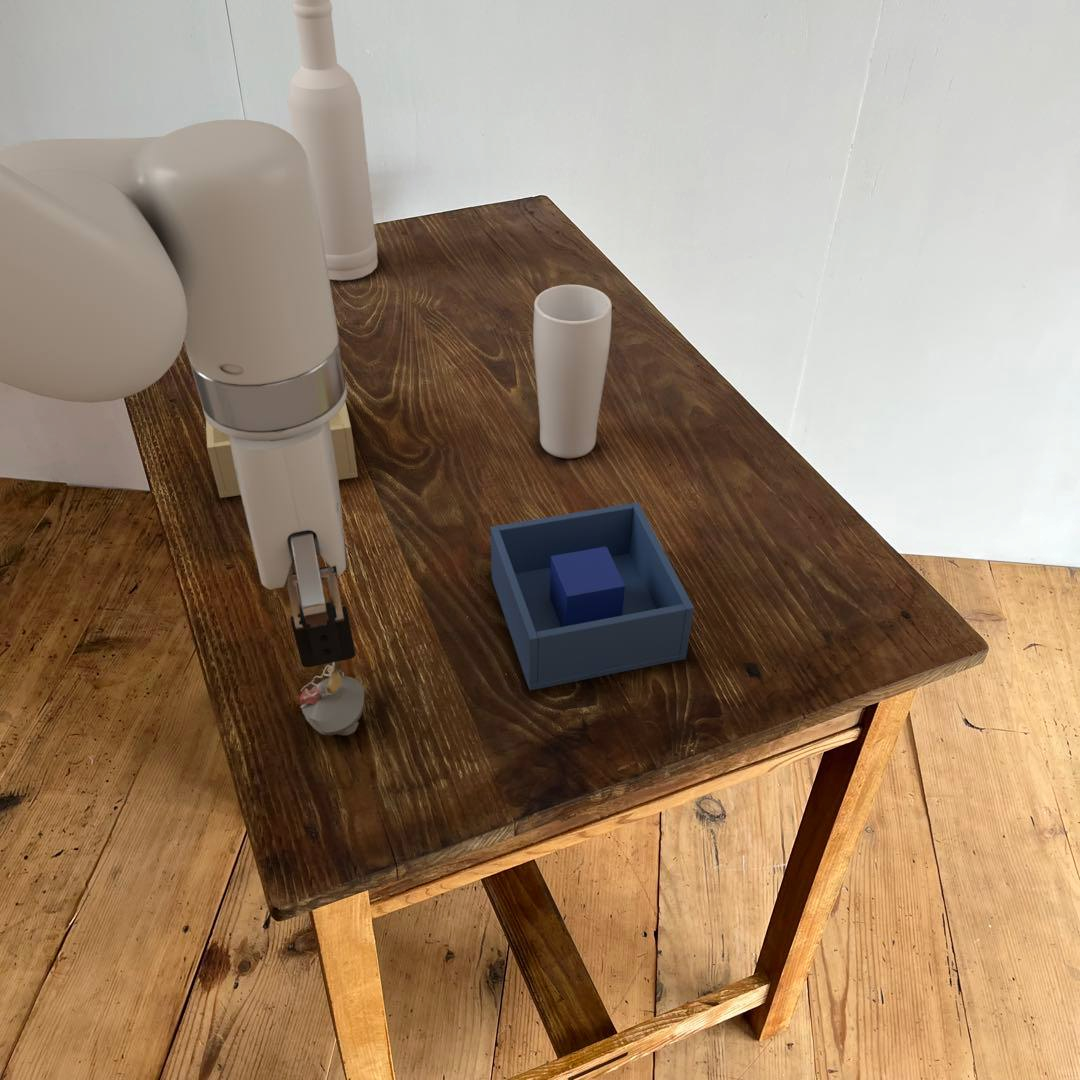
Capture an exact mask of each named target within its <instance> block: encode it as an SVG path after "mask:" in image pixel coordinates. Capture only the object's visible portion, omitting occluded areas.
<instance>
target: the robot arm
mask: <svg viewBox="0 0 1080 1080" xmlns="http://www.w3.org/2000/svg"><path fill="white" fill-rule="evenodd" d="M340 344H341V343H340V339H339V331H338V324H337V318H336V313H335V306H334V300H333V293H332V286H331V280H330V279H329V274H328V268H327V262H326V256H325V249H324V243H323V237H322V230H321V224H320V218H319V211H318V205H317V198H316V192H315V186H314V180H313V175H312V170H311V166H310V162H309V159H308V157H307V154H306V152H305V150H304V149H303V147H302V145H301V144H300V143H299V142H298V141H297V140H296V139H295V138H294V137H293V134H291V133H290V132H289V131H286V130H285V129H283V128H282V127H279V126H277V125H274V124H272V123H268V122H264V121H258V120H250V119H217V120H209V121H204V122H200V123H194V124H191V125H187V126H185V127H181V128H179V129H176V130H174V131H171V132H168V133H167V134H165V135H161V136H147V137H146V136H145V137H126V138H125V137H121V138H119V137H118V138H53V139H52V138H51V139H37V140H31V141H22V142H19V143H15V144H12V145H7V146H5V147H3V148H0V383H2V384H5V385H8V386H11V387H13V388H16V389H19V390H22V391H25V392H28V393H31V394H34V395H38V396H42V397H45V398H50V399H54V400H55V399H56V400H59V401H60V400H61V401H65V402H73V403H86V404H87V403H88V404H89V403H91V404H92V403H93V404H94V403H103V402H112V401H117V400H120V399H125V398H128V397H132V396H133V395H136V394H138V393H140V392H143V391H144V390H147V389H148V388H149V387H150V386H152V385H153V384H155V383H156V382H157V381H159V380H160V379H161V378H162V377H163V376H164V375H165V374H166V373H167V372H168V371H169V369H170V368H171V367H172V366H173V365H174V363H175V361H176V359H177V358H178V356H179V354H180V352H181V350H182V348H183V345H184V346H185V350H186V354H187V357H188V361H189V365H190V369H191V372H192V375H193V379H194V383H195V386H196V387H195V388H196V391H197V394H198V397H199V402H200V404H201V407H202V411H203V415H204V418H205V420H206V419H207V421H208V422H209V423H210V424H211V426H212V427H214V428H215V429H217V430H218V431H220V432H221V433H224V434H226V435H228V436H229V439H230V445H231V451H232V456H233V461H234V466H235V471H236V476H237V480H238V485H239V489H240V493H241V495H240V497H241V501H242V506H243V510H244V513H245V518H246V522H247V527H248V531H249V535H250V540H251V543H252V547H253V552H254V557H255V561H256V565H257V570H258V574H259V580H260V583H261V585H262V586H263V587H265V588H266V589H267V590H268V591H272V590H274V589H281V588H284V587H285V585H287V591H288V597H289V601H290V602H289V603H290V606H291V607H290V608H291V612H292V616H290V624H291V627H292V631H293V635H294V636H293V637H294V639H295V644H296V647H297V651H298V655H299V659H300V664H301V666H302V667H304V668H311V667H318V666H323V665H326V664H327V665H329V664H331V663H333V662H337V661H341V662H342V661H348V660H352V659H353V658H354V657H356V649H355V644H354V639H353V633H352V628H351V624H350V623H351V622H350V618H349V613H348V607H347V606H343V605H342V600H341V599H342V598H341V594H340V589H339V584H338V578H339V577H340V576H342V575H343V573H344V572H345V570H346V569H347V561H346V560H347V559H346V545H345V534H344V520H343V510H342V500H341V490H340V483H339V480H338V474H337V467H336V461H335V454H334V448H333V441H332V435H331V429H330V423H329V420H330V419H332V418H333V417H334V416H335V415H336V414H337V413H338V412H339V411H340V410H341V408H342V407H343V405H344V402H346V401H347V396H348V387H347V381H346V376H345V369H344V364H343V358H342V357H343V356H342V351H341V345H340ZM318 556H320V557H321V558H322V559H323V560H324V562H326V565H327V566H322V567H320V564H319V557H318ZM293 562H294V567H295V572H293V565H292V563H293ZM326 579H327V585H328V592H329V596H330V602H327V601H326V597H325V592H324V586H323V581H322V580H326Z"/></svg>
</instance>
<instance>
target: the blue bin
mask: <svg viewBox="0 0 1080 1080" xmlns="http://www.w3.org/2000/svg"><path fill="white" fill-rule="evenodd" d="M489 530H490V561H491V563H490V564H491V567H490V568H491V580H492V583H493V586H494V589H495V592H496V596H497V598H498V601H499V604H500V606H501V607H500V608H501V610H502V613H503V615H504V619H505V622H506V625H507V628H508V630H509V634H510V637H511V641H512V643H513V646H514V648H515V649H514V650H515V651H516V655H517V657H518V661H519V664H520V666H521V670H522V673H523V676H524V678H525V681H526V684H527V687H528V688H527V689H528V690H529V691H535V690H540V689H546V688H549V687H550V688H551V687H555V686H560V685H565V684H569V683H574V682H579V681H585V680H588V679H595V678H599V677H604V676H610V675H613V674H619V673H625V672H628V671H629V672H630V671H635V670H638V669H644V668H648V667H654V666H660V665H664V664H669V663H673V662H678V661H683V660H686V659H687V653H688V648H689V642H690V635H691V628H692V623H693V618H694V617H693V616H694V610H695V606H694V604H693V603H692V601H691V599H690V597H689V596H688V593H687V591H686V590H685V587H684V586H683V584H682V582H681V580H680V579H679V577H678V574H677V573H676V571H675V568H674V567H673V565H672V564H671V561H670V559H669V557H668V556H667V554H666V552H665V550H664V548H663V546H662V544H661V543H660V541H659V539H658V536H657V535H656V532H655V531H654V529H653V527H652V526H651V524H650V522H649V520H648V518H647V516H646V514H645V512H644V510H643V508H642V506H641V505H640V503H639V501H636V502H631V503H626V504H620V505H619V504H618V505H612V506H607V507H601V508H595V509H590V510H583V511H578V512H577V511H576V512H571V513H565V514H560V515H553V516H548V517H542V518H541V517H540V518H535V519H530V520H523V521H519V522H512V523H511V522H510V523H506V524H500V525H494V526H490V529H489ZM600 547H607V548H608V550H609V553H610V555H611V557H612V559H613V561H614V563H615V565H616V567H617V570H618V572H619V574H620V576H621V578H622V580H623V582H624V585H625V592H624V602H623V612H622V616H617V617H612V618H607V619H602V620H596V621H591V622H586V623H581V624H575V625H570V626H565V627H561V625H560V622H559V620H558V617H557V615H556V612H555V609H554V607H553V604H552V602H551V599H550V572H551V556H555V555H560V554H566V553H572V552H577V551H583V550H589V549H595V548H600Z"/></svg>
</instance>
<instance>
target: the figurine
mask: <svg viewBox="0 0 1080 1080" xmlns="http://www.w3.org/2000/svg"><path fill="white" fill-rule="evenodd" d="M342 664H343V662H342V661H337V662H332V664H331V665H330V664H327V665H325V667H324V669H323V672H322V674H321V676H319V675H315V676H314V677H313V678H312V680H311V681H310V682H308V683H307V684H306V685H304V686H303V687H302V688H301V690H300V692H301V694H300V696H299V703H300V704H301V706H300V708H301V711H302V714H303V716H304V718H305V720H306V721H307V723H309V725H310V726H311V727H312V728H313V729H314V730H316V731H317V732H318V733H319V734H320V735H323V736H336V735H338V736H349V735H352V734H353V733H355V732H356V731H357V729H358V727H359V724H360V722H359V720H360V718H361V717H362V714H363V711H364V704H365V690H364V687H363V685H362V683H361V682H360V681H359V680H358V679H356V678H355V677H352V676H347V675H345V674H344V672H343V666H342ZM326 671H327V672H328V673H326ZM323 677H328V678H325V679H323V680H321V681H319V682H318V683H315V679H316V678H319V679H321V678H323ZM309 685H313V686H312V688H311V689H308V686H309Z"/></svg>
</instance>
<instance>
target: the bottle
mask: <svg viewBox="0 0 1080 1080" xmlns="http://www.w3.org/2000/svg"><path fill="white" fill-rule="evenodd" d="M292 11H293V13H294V15H295V21H296V28H297V35H298V42H299V44H298V45H299V51H300V58H301V66H299V68H298V70H297V71H296V72H295V74H293V76H292V77H291V79H290V84H289V89H288V94H287V108H288V113H289V120H290V127H291V133H292V134H291V135H292V136H293V137H294V138H295V139H296V140H297V141H298V142H299V143H300V144H301V145H302V147H303V149H304V150H305V152H306V154H307V157H308V159H309V162H310V166H311V170H312V175H313V180H314V186H315V192H316V198H317V205H318V211H319V218H320V224H321V230H322V237H323V243H324V249H325V256H326V262H327V268H328V274H329V281H339V282H345V281H353V280H358V279H362V278H365V277H367V276H368V275H370V274H372V273H373V272H374V271H375V270H376V269H377V268H378V264H379V260H378V243H377V238H376V233H375V232H376V231H375V223H374V213H373V204H372V203H373V202H372V192H371V183H370V175H369V174H370V173H369V165H368V154H367V144H366V135H365V127H364V116H363V107H362V97H361V95H360V92H359V89H358V86H357V85H356V83H355V80H354V78H353V76H352V75H351V73H349V72H348V71H347V70H346V69H344V68H343V67H342V66H341V65H340V64H339V63H338V58H337V49H336V42H335V41H336V40H335V32H334V23H333V15H332V12H333V4H332V2H331V1H330V0H293V5H292Z"/></svg>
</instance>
